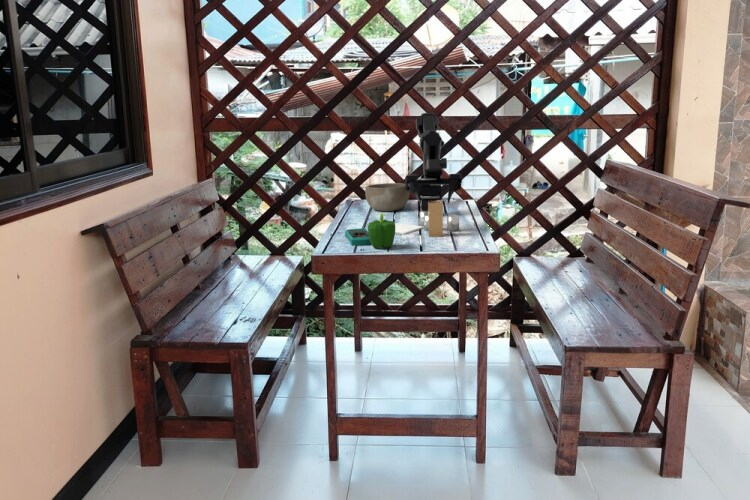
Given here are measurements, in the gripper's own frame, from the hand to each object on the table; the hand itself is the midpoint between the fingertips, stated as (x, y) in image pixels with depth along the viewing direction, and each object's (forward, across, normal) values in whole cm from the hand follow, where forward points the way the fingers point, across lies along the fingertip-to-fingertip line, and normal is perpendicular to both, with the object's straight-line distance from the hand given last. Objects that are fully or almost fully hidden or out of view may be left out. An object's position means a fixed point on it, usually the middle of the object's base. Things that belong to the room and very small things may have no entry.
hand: (434, 202), depth 212 cm
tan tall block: (+9, 0, +5) cm, 11 cm away
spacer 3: (+5, +6, +10) cm, 12 cm away
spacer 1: (-2, -2, +16) cm, 16 cm away
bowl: (-26, -16, +40) cm, 50 cm away
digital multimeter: (+13, -25, +2) cm, 28 cm away
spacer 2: (+3, -1, +11) cm, 12 cm away
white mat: (+2, -12, +13) cm, 18 cm away
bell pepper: (+20, -17, -5) cm, 27 cm away
